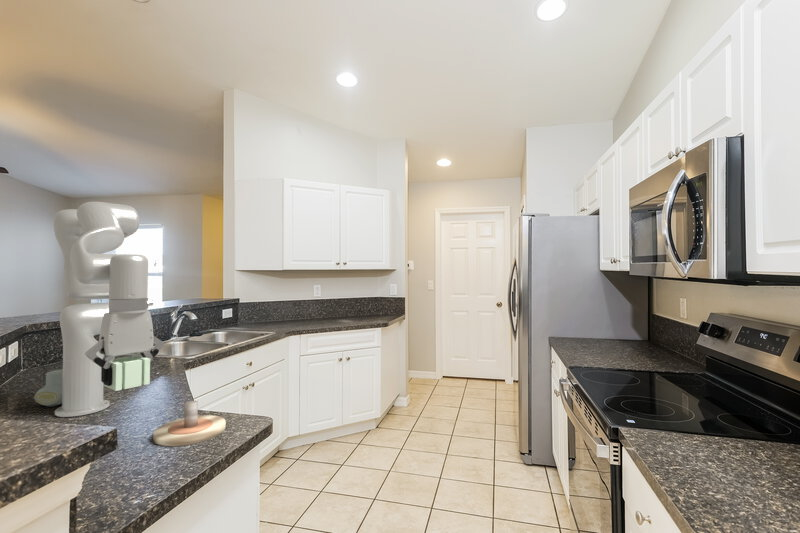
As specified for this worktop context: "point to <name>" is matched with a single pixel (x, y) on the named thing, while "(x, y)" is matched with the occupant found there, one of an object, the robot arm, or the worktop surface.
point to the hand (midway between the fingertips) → (126, 380)
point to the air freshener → (51, 389)
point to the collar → (129, 372)
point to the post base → (189, 428)
